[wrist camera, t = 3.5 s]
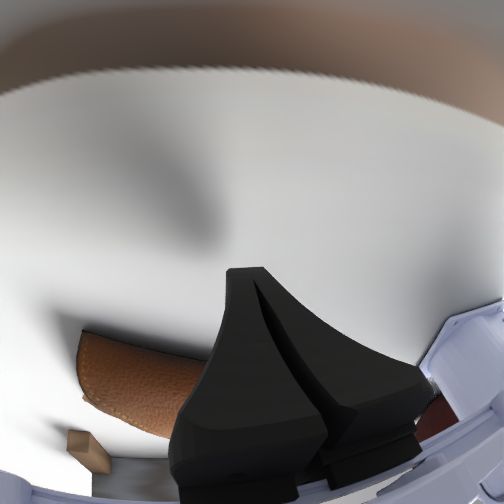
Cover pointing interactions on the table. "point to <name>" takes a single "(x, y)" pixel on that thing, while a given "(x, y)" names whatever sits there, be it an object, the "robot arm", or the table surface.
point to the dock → (123, 473)
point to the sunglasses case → (135, 382)
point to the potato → (435, 419)
